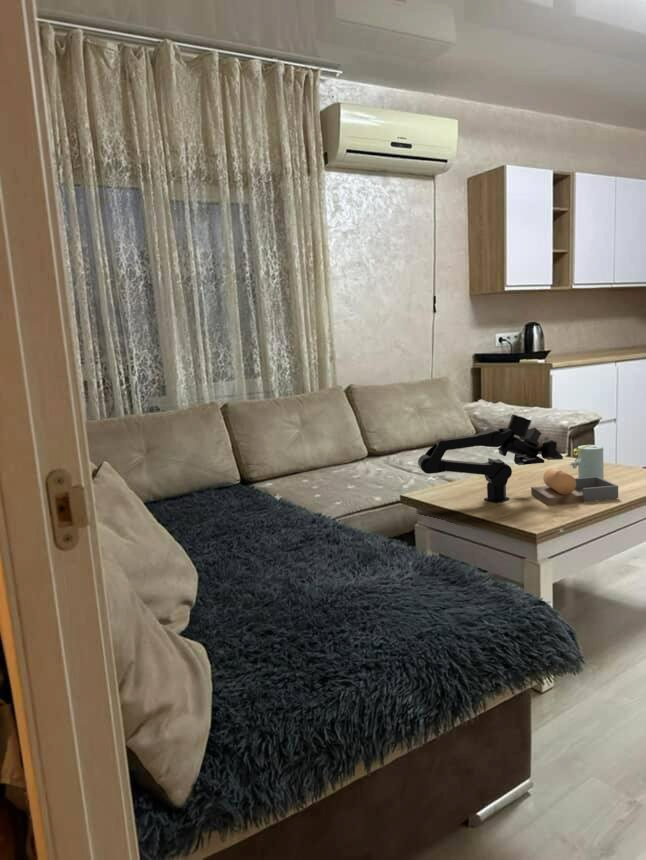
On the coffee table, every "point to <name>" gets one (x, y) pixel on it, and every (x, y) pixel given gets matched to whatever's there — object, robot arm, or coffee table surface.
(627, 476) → the coffee table surface
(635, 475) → the coffee table surface
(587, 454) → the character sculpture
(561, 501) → the board
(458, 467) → the robot arm
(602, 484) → the tray
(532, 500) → the coffee table surface
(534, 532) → the coffee table surface
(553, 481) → the roller
